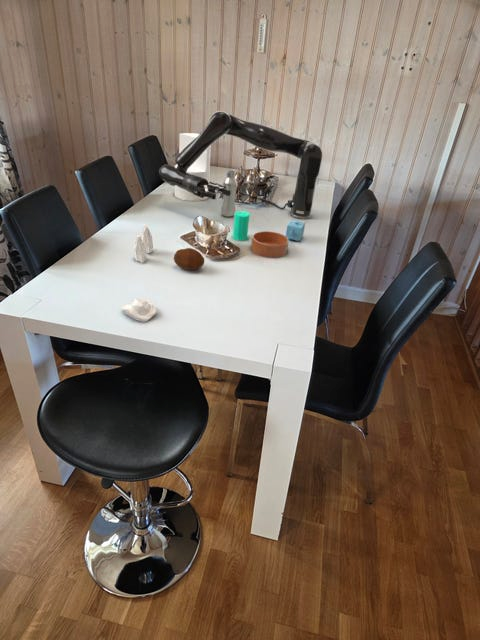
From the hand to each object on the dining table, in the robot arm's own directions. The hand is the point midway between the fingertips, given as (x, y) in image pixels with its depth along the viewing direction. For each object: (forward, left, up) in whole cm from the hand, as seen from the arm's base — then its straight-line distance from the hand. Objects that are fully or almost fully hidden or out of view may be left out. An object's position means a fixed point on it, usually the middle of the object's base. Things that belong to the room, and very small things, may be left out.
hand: (222, 195), depth 178 cm
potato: (+30, -26, -15) cm, 43 cm away
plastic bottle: (-15, +10, -15) cm, 23 cm away
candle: (+10, +4, -15) cm, 19 cm away
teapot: (+18, +26, -15) cm, 35 cm away
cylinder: (-46, +4, -15) cm, 48 cm away
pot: (+24, +10, -15) cm, 30 cm away
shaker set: (+16, -38, -15) cm, 44 cm away
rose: (+53, -50, -15) cm, 74 cm away
